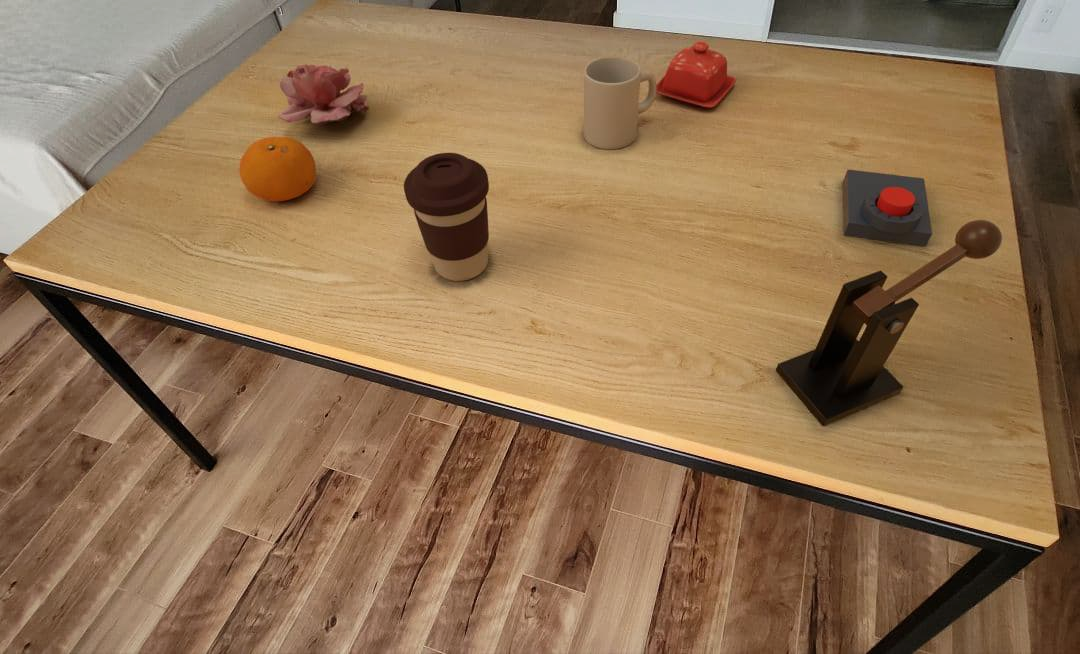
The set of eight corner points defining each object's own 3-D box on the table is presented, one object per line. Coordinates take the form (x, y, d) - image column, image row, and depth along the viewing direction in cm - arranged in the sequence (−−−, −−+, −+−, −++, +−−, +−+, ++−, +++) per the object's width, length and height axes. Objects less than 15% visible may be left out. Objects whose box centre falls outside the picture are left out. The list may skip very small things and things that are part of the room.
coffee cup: (474, 299, 81) (457, 203, 70) (410, 276, 84) (383, 182, 73) (512, 250, 86) (501, 155, 75) (449, 231, 90) (430, 137, 78)
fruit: (304, 215, 94) (285, 169, 88) (239, 208, 95) (216, 163, 89) (333, 172, 100) (317, 127, 94) (272, 167, 102) (252, 122, 96)
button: (911, 219, 81) (916, 208, 80) (877, 214, 82) (881, 203, 81) (908, 200, 84) (913, 189, 82) (875, 195, 85) (880, 185, 83)
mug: (598, 155, 100) (599, 89, 92) (574, 129, 105) (574, 64, 97) (665, 135, 103) (672, 69, 94) (639, 110, 108) (643, 46, 100)
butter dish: (738, 84, 112) (748, 35, 105) (711, 115, 106) (719, 66, 99) (678, 69, 116) (683, 21, 110) (648, 98, 110) (652, 50, 104)
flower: (355, 133, 102) (336, 67, 97) (273, 142, 105) (250, 79, 100) (388, 109, 114) (373, 50, 109) (314, 118, 117) (296, 61, 112)
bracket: (848, 341, 73) (892, 251, 63) (900, 393, 69) (956, 305, 58) (775, 370, 71) (808, 282, 61) (822, 426, 66) (867, 341, 56)
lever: (978, 227, 62) (981, 205, 59) (1009, 250, 60) (1014, 228, 57) (849, 311, 64) (847, 293, 61) (875, 336, 61) (874, 319, 59)
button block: (926, 251, 82) (939, 227, 79) (843, 239, 85) (853, 216, 82) (918, 191, 90) (929, 167, 87) (842, 181, 93) (851, 158, 90)
